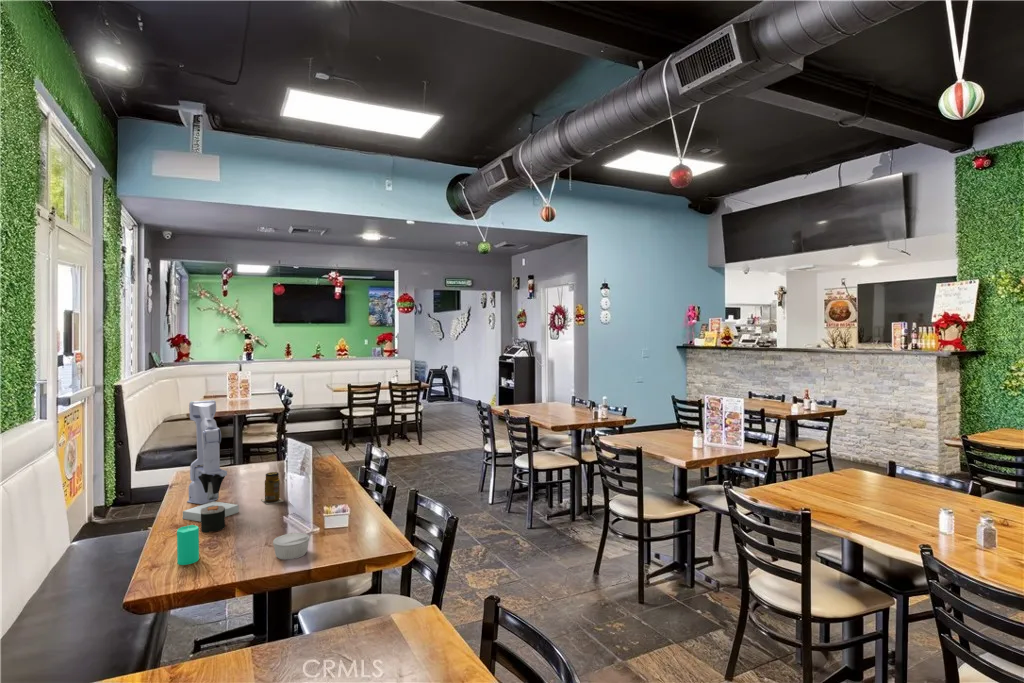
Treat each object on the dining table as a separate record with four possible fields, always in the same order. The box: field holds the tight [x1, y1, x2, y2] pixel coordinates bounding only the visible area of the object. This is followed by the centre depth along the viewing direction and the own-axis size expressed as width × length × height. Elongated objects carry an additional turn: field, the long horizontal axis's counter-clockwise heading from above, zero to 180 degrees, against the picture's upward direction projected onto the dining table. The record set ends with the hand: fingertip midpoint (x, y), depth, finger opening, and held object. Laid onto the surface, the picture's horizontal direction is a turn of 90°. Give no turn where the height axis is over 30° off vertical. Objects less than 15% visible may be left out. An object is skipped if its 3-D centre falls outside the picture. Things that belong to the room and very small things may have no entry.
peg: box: [207, 481, 220, 501], centre depth 222 cm, size 4×4×7 cm
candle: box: [176, 524, 200, 566], centre depth 176 cm, size 6×6×12 cm
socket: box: [182, 500, 240, 523], centre depth 221 cm, size 14×14×3 cm
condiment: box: [261, 471, 284, 505], centre depth 241 cm, size 7×8×12 cm
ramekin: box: [272, 532, 310, 561], centre depth 181 cm, size 11×11×5 cm
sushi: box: [200, 506, 226, 534], centre depth 206 cm, size 8×8×8 cm
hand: (211, 492), depth 222 cm, fingers closed on peg, 4 cm apart
